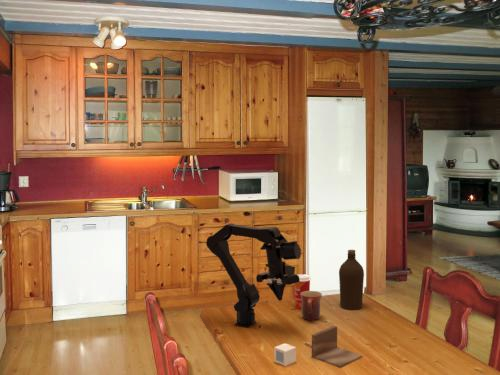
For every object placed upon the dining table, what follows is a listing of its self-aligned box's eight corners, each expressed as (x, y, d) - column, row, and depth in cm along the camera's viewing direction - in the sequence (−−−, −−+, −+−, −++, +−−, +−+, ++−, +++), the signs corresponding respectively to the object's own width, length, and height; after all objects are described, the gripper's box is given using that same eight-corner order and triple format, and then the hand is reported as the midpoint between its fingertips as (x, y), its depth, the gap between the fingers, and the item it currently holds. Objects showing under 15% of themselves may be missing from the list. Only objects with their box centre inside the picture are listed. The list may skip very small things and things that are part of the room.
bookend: (311, 357, 183) (311, 334, 182) (333, 347, 191) (334, 325, 190) (340, 368, 174) (340, 344, 174) (362, 357, 182) (362, 334, 182)
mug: (301, 314, 227) (301, 290, 226) (322, 315, 225) (322, 291, 225) (298, 323, 216) (298, 298, 215) (320, 325, 214) (320, 299, 213)
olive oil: (347, 311, 230) (348, 253, 227) (334, 304, 239) (334, 249, 237) (368, 308, 234) (369, 251, 231) (354, 301, 243) (354, 246, 241)
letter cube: (274, 361, 180) (274, 347, 179) (284, 357, 183) (284, 343, 183) (285, 366, 176) (285, 351, 175) (295, 361, 179) (295, 347, 179)
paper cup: (291, 305, 239) (291, 274, 238) (308, 304, 240) (308, 273, 239) (294, 310, 232) (294, 278, 230) (312, 310, 232) (312, 278, 231)
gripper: (306, 256, 205) (312, 297, 206) (273, 255, 220) (278, 293, 220) (285, 262, 198) (291, 304, 198) (252, 261, 212) (258, 300, 213)
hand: (280, 300), depth 208 cm, fingers closed
